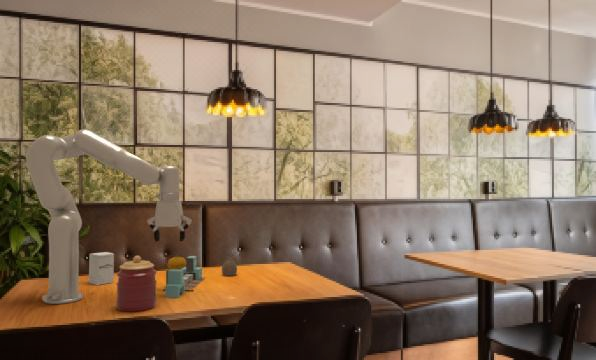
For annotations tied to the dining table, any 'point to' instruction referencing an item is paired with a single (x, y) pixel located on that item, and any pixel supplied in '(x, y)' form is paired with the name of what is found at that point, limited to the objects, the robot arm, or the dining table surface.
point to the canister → (136, 285)
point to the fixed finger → (192, 267)
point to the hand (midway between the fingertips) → (169, 241)
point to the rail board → (192, 284)
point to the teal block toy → (174, 283)
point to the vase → (229, 268)
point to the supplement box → (101, 268)
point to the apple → (176, 263)
